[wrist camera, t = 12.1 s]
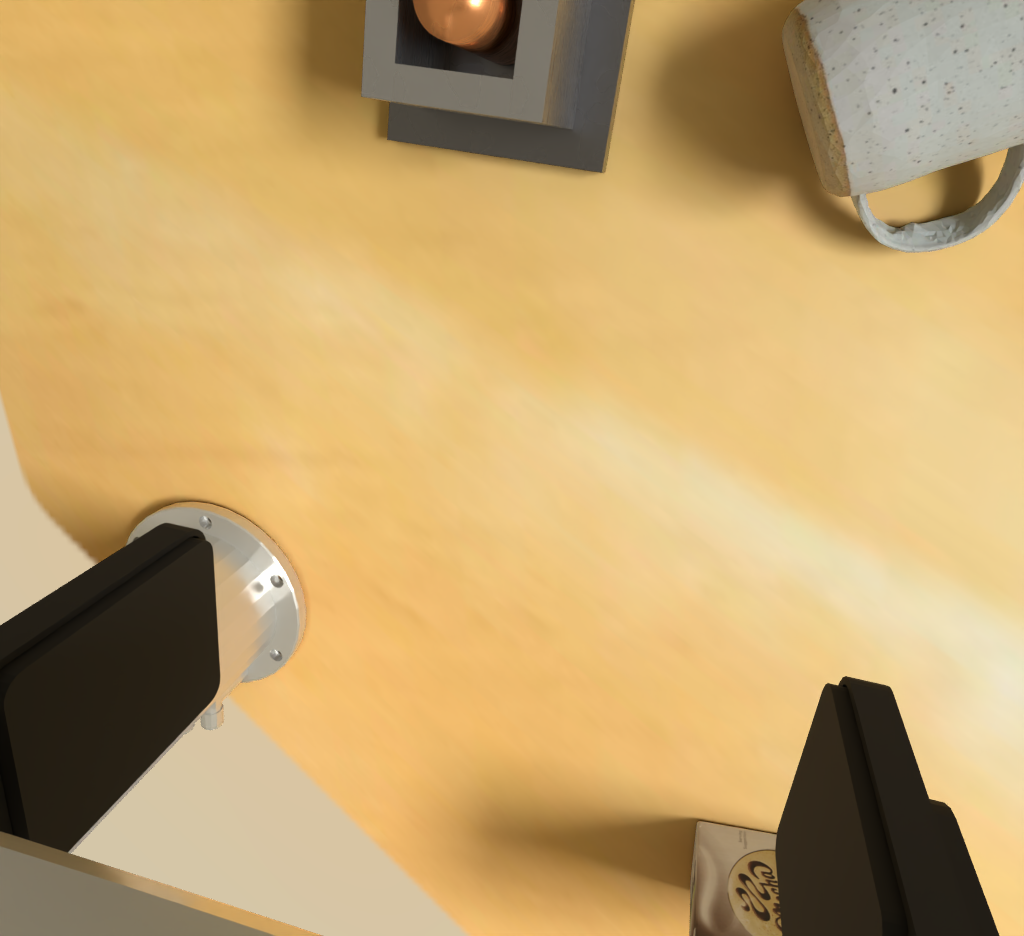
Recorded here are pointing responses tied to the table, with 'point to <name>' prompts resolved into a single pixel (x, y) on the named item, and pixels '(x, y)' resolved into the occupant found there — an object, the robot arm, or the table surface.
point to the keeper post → (492, 52)
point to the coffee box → (734, 883)
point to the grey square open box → (430, 84)
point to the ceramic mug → (910, 101)
